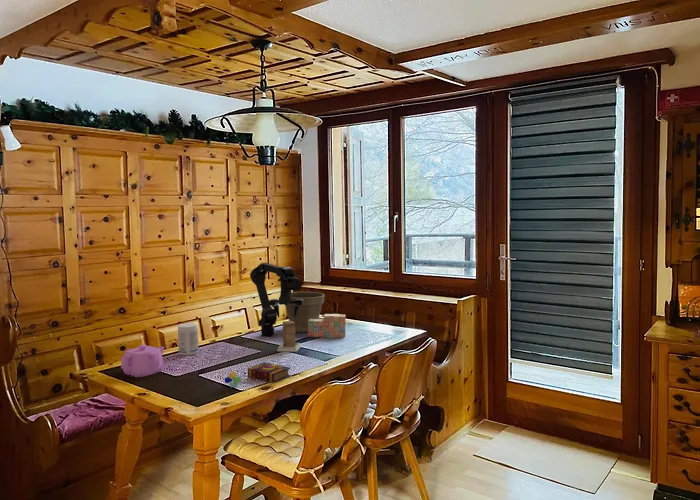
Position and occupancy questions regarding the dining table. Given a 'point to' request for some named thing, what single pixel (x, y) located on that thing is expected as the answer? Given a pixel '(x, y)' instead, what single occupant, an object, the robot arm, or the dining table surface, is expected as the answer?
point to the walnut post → (288, 334)
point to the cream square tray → (289, 348)
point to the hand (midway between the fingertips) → (286, 317)
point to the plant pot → (305, 309)
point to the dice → (233, 379)
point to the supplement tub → (188, 339)
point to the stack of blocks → (327, 326)
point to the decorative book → (268, 372)
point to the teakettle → (142, 361)
